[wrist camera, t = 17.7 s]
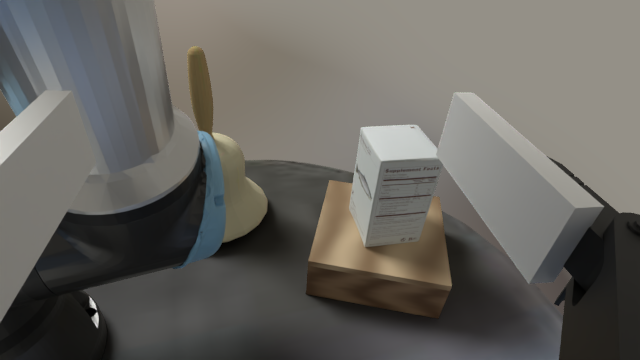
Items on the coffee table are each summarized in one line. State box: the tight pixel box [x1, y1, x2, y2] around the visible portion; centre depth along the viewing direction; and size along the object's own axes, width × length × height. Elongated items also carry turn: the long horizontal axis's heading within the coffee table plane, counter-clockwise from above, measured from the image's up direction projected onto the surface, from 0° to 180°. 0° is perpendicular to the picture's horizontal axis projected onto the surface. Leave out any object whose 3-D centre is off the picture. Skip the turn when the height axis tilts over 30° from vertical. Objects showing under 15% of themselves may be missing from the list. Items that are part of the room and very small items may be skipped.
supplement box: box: [349, 125, 443, 247], centre depth 44 cm, size 7×7×13 cm
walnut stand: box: [306, 180, 452, 319], centre depth 50 cm, size 16×16×6 cm
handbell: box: [187, 46, 268, 243], centre depth 49 cm, size 15×15×25 cm
